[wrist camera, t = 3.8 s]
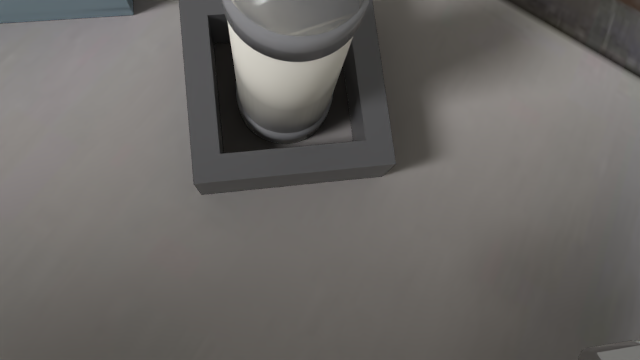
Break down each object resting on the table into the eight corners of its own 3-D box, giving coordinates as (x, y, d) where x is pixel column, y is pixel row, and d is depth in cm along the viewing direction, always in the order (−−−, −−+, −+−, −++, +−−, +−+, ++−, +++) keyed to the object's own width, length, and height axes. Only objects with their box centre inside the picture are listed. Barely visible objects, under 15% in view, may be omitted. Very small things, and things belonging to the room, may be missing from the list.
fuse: (241, 148, 27) (223, 45, 15) (233, 58, 28) (208, -105, 16) (334, 139, 27) (387, 33, 16) (323, 52, 28) (365, -111, 16)
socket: (201, 194, 26) (193, 184, 23) (187, 22, 28) (178, -8, 25) (381, 176, 27) (395, 164, 24) (358, 11, 29) (369, -20, 26)
